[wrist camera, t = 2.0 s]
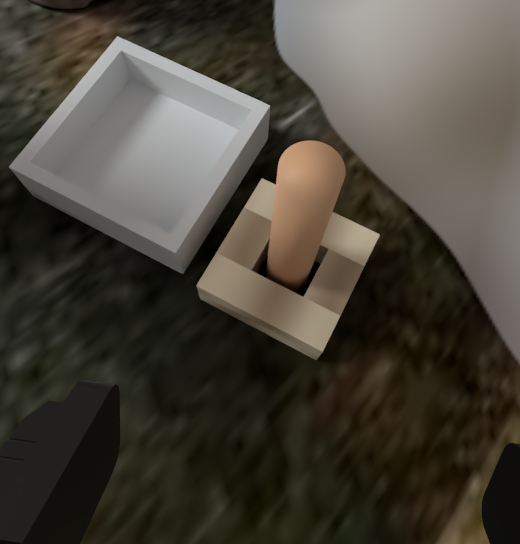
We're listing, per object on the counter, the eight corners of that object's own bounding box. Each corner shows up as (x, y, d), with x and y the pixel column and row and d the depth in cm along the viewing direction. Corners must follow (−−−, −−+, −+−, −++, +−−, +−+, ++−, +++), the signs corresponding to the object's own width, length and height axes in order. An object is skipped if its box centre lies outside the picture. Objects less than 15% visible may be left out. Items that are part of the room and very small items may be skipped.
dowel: (258, 282, 34) (266, 180, 21) (277, 248, 35) (296, 130, 22) (296, 302, 34) (327, 210, 21) (314, 267, 35) (356, 157, 22)
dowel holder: (200, 299, 34) (196, 285, 31) (260, 198, 37) (261, 178, 34) (316, 360, 33) (322, 352, 30) (369, 251, 35) (380, 234, 33)
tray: (33, 196, 36) (8, 167, 32) (129, 74, 40) (117, 36, 36) (183, 274, 34) (175, 253, 31) (267, 139, 38) (270, 105, 35)
